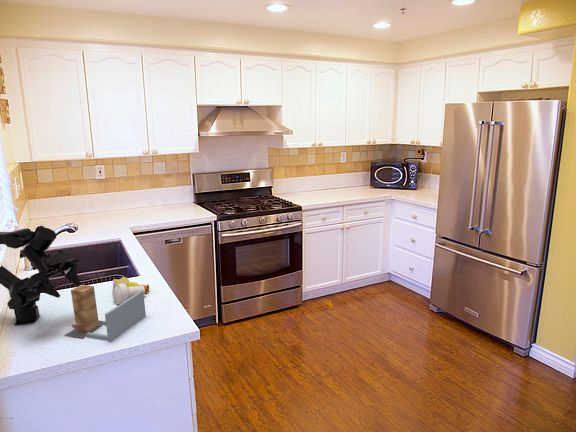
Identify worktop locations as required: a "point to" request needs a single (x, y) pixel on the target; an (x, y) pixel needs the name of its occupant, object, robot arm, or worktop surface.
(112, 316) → the lane rack
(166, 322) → the worktop surface
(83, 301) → the oak block
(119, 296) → the spotlight
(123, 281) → the toy
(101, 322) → the mat
